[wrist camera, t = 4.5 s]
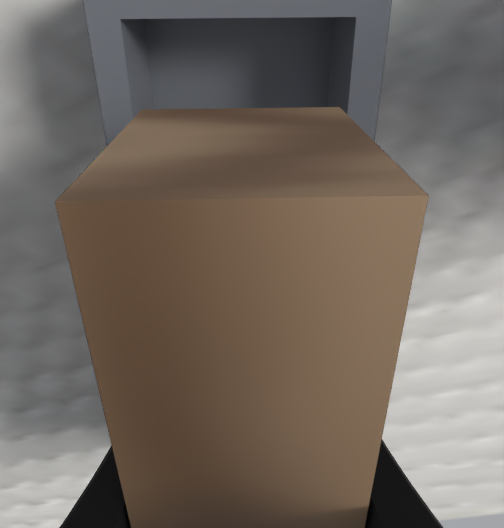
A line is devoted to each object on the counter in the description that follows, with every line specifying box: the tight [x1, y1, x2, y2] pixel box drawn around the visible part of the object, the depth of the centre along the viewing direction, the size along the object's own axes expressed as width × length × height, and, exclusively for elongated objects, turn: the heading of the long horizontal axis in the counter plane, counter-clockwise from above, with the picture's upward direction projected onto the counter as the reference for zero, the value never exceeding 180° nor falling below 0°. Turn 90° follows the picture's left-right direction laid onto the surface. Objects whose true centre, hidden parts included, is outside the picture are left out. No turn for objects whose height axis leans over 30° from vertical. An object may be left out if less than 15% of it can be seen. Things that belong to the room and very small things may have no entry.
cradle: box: [83, 0, 392, 146], centre depth 17 cm, size 8×19×4 cm, turn 0°
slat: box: [55, 107, 429, 528], centre depth 11 cm, size 4×14×5 cm, turn 0°
